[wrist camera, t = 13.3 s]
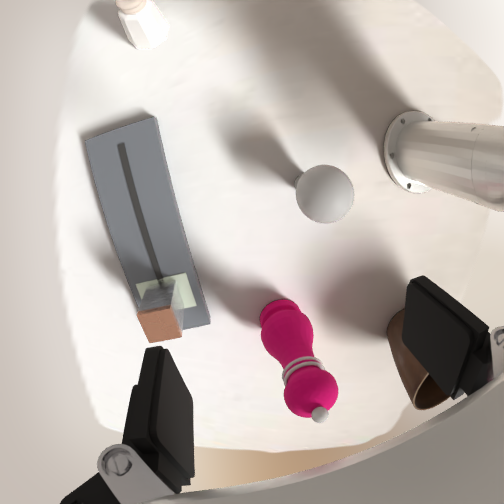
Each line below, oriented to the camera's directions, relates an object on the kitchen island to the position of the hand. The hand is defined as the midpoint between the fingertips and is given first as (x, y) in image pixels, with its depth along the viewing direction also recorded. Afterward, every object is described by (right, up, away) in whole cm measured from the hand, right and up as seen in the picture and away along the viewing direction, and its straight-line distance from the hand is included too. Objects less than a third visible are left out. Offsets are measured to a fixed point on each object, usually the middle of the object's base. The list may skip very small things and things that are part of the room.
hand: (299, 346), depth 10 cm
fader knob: (-13, -2, +27) cm, 30 cm away
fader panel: (-15, +6, +26) cm, 31 cm away
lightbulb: (+5, +12, +27) cm, 30 cm away
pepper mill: (+2, -6, +34) cm, 34 cm away
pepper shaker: (-14, +31, +17) cm, 38 cm away
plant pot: (+27, -10, +39) cm, 48 cm away
